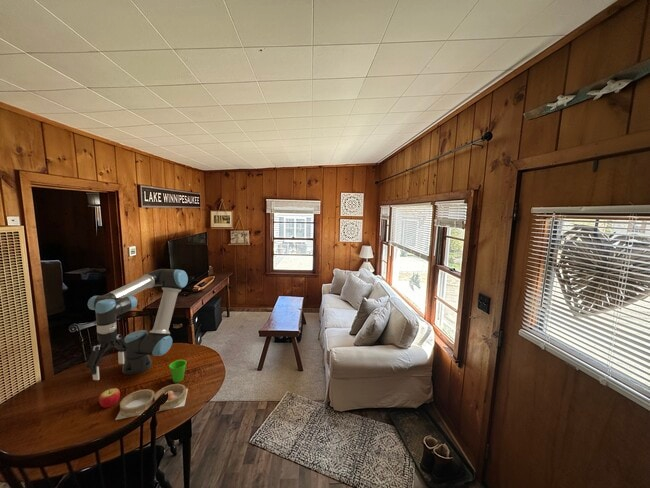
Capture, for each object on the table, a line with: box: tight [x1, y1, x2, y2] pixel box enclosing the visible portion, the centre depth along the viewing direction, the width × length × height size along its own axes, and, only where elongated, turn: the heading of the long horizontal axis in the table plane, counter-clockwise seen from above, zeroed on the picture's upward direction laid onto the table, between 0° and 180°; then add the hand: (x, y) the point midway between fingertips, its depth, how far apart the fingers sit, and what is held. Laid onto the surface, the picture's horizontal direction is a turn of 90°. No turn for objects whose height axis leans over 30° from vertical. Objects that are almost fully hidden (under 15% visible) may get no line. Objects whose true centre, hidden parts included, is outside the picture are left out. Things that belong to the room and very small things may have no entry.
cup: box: [168, 359, 188, 384], centre depth 152 cm, size 9×9×11 cm
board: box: [114, 388, 189, 421], centre depth 133 cm, size 29×14×1 cm, turn 111°
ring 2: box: [154, 383, 187, 411], centre depth 135 cm, size 14×14×4 cm
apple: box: [98, 387, 121, 409], centre depth 131 cm, size 8×8×10 cm
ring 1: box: [119, 388, 156, 418], centre depth 130 cm, size 14×14×4 cm
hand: (109, 371), depth 130 cm, fingers open, 13 cm apart
